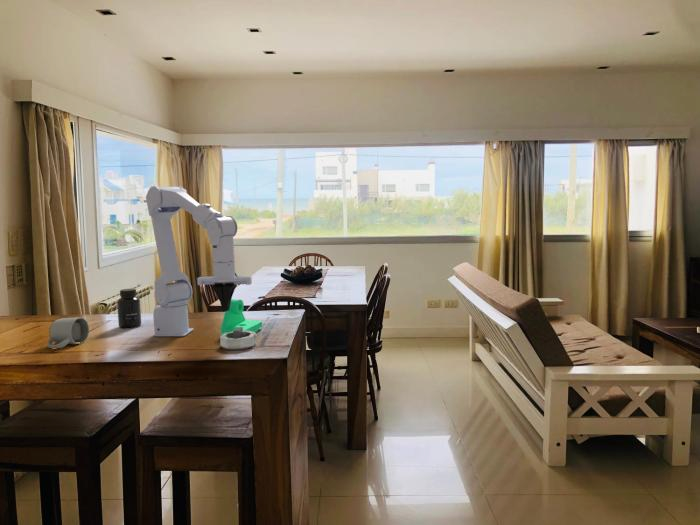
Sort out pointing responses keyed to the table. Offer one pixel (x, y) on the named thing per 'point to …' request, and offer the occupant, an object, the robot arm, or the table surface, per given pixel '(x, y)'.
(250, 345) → the white ring bowl
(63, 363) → the table surface
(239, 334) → the cap
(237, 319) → the camera mount
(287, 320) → the table surface
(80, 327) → the ceramic mug
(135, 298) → the supplement bottle
